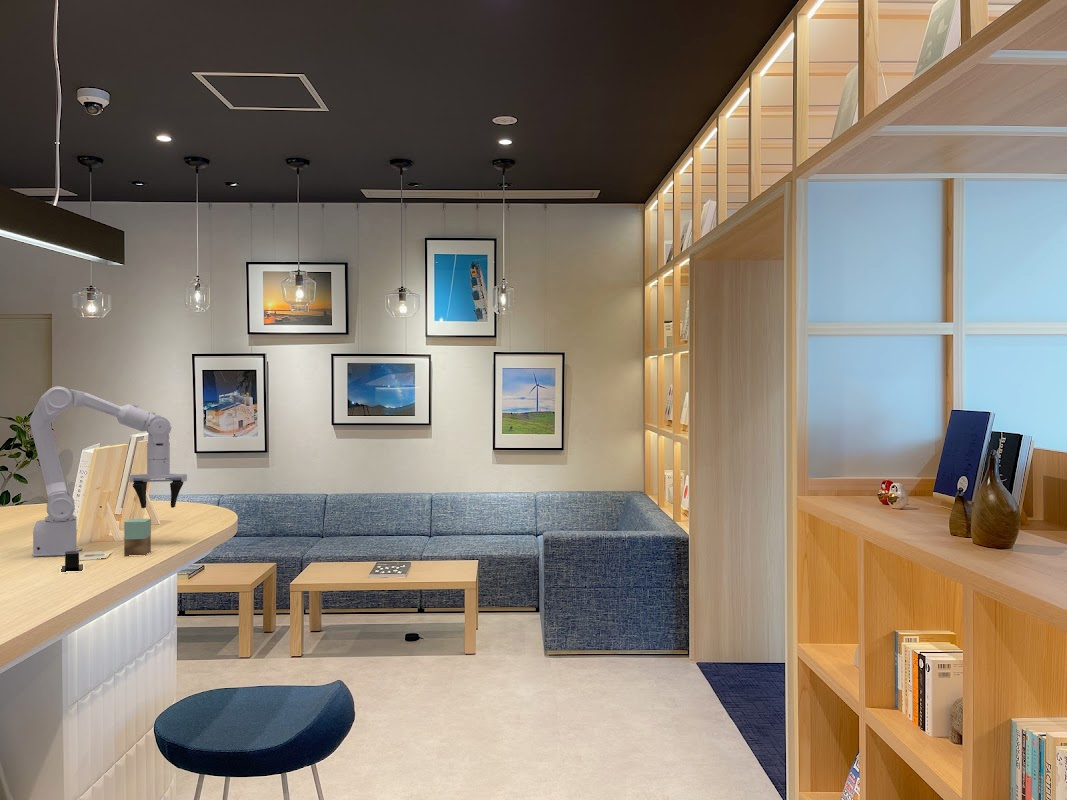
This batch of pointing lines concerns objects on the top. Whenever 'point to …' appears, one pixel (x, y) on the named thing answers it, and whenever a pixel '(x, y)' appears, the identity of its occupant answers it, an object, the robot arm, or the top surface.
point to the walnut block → (137, 546)
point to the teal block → (137, 529)
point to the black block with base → (72, 562)
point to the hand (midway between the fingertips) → (158, 507)
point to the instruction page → (92, 555)
